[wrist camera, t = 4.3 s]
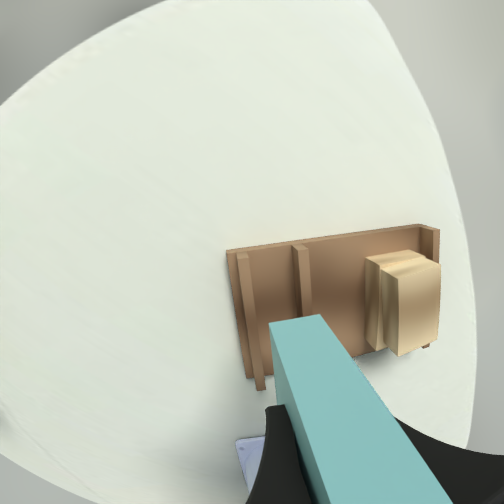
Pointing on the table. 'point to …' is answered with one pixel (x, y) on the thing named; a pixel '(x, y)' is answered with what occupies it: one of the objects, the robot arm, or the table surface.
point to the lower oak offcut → (379, 293)
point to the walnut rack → (312, 286)
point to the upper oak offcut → (410, 304)
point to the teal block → (343, 423)
